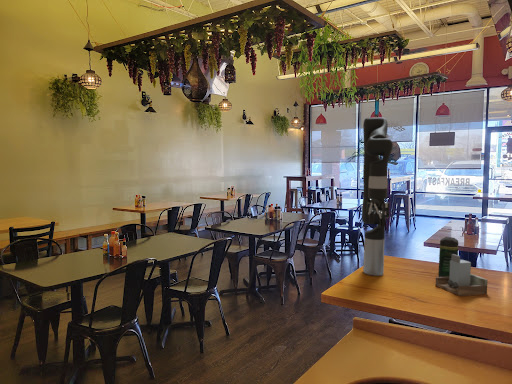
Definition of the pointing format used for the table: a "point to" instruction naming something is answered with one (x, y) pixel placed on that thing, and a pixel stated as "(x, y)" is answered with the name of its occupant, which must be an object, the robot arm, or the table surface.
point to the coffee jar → (446, 255)
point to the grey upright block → (459, 272)
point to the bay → (476, 286)
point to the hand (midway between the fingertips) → (376, 225)
